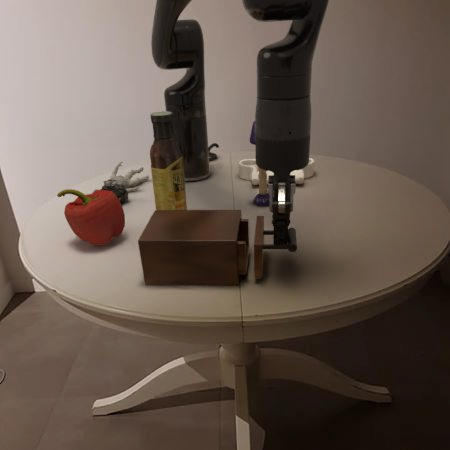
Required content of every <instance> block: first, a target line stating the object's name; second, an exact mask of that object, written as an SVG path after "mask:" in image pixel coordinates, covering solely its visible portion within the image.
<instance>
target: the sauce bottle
mask: <svg viewBox="0 0 450 450" xmlns="http://www.w3.org/2000/svg"><path fill="white" fill-rule="evenodd" d="M150 121H151V124H152V131H153V132H152V133H153V141H152V142H153V143H152V144H151V146H150V150H149V159H150V170H151V171H150V172H151V181H152V189H153V196H154V197H153V198H154V203H155V210H187V208H188V202H187V191H186V181H185V179H184V168H183V157H182V154H181V151H180V149H179V147H178V145H177V142H176V140H175V138H174V133H173V123H172V122H173V114H172V112H168V111H166V110H165V111H164V110H162V111H156V112H151V113H150Z"/></svg>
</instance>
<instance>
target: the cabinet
mask: <svg viewBox="0 0 450 450" xmlns="http://www.w3.org/2000/svg"><path fill="white" fill-rule="evenodd" d="M242 216H243V211H242V209H186V210H156V209H155V210H154V211H153V213H152V215H151V216H150V218H149V220H148V222H147V224H146V225H145V227H144V229H143V230H142V232H141V234H140V236H139V238H138V240H137V243H138V250H139V257H140V262H141V268H142V274H143V281H144V285H153V286H155V285H157V286H158V285H159V286H160V285H163V286H164V285H168V286H169V285H171V286H239V280H240V274H238V262H237V239H238V233H239V227H240V220H241V219H243V217H242Z"/></svg>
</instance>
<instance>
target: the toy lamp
mask: <svg viewBox="0 0 450 450" xmlns="http://www.w3.org/2000/svg"><path fill="white" fill-rule="evenodd" d="M249 143H250V144H251V145H253V146H255V120H254V121H253V123H252V126H251V131H250V136H249ZM258 171H259V175H258V177H259V184H258V186H259V189H258V192H259V193H256V195H255V196H254V198H253V204H254V205H256V206H261V207H264V206H270V195H269V194H268V184H267V180H266V179H267V173H266V172H267V171H265V170H262V169H260V168H259V167H258Z"/></svg>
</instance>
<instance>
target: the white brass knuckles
mask: <svg viewBox="0 0 450 450" xmlns="http://www.w3.org/2000/svg"><path fill="white" fill-rule="evenodd" d="M314 172H315V159H314V158H312V157H309V163H308V165H307V166H306V167H305V168H303V169H301V170H295V171H292V172H291V173H290V175H295V181H296V185H302V184H304V179H308V178H312V177H313V176H314V174H315V173H314ZM266 173H267V179H266V180H267V185H268V175H274V173H273V172H271V171H269V170H268V171H267V172H266ZM258 175H259V171H258V166H257V165H256V158H243V159H241V160H240V161H239V162H238V176H239V178H240V179H242V180H246V181H251V185H252V186H257V185H259V177H258Z"/></svg>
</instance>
